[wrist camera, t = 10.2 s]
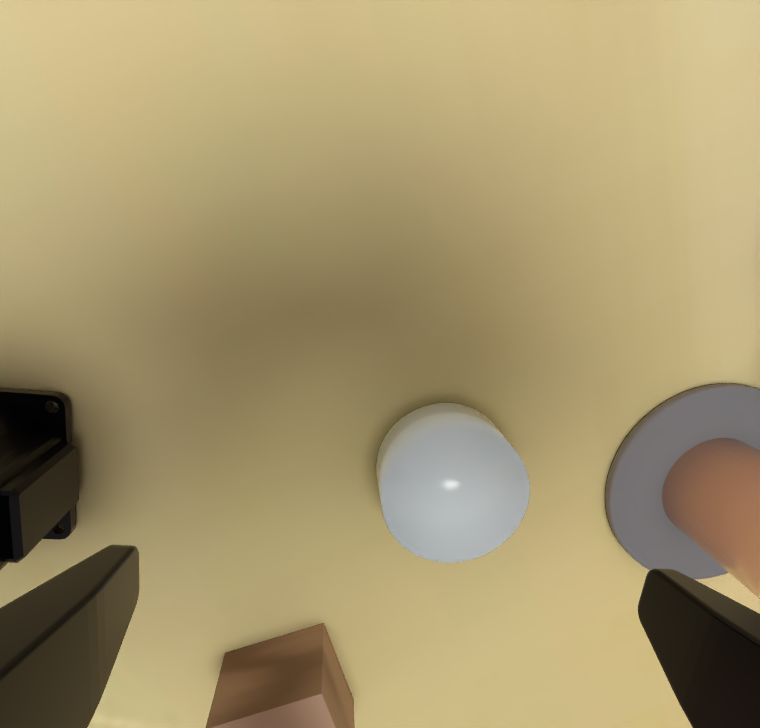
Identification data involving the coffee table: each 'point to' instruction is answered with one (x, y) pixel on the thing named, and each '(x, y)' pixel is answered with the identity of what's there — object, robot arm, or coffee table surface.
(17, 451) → the robot arm
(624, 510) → the coaster
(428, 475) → the white dome
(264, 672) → the walnut block
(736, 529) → the pink rounded cylinder
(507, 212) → the coffee table surface
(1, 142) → the coffee table surface
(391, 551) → the coffee table surface
